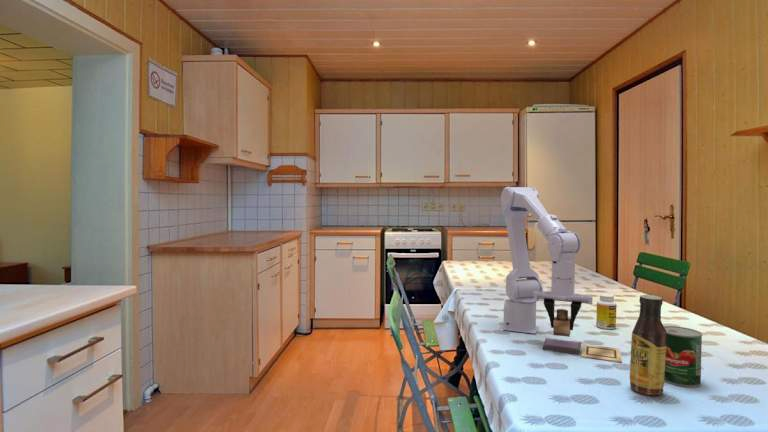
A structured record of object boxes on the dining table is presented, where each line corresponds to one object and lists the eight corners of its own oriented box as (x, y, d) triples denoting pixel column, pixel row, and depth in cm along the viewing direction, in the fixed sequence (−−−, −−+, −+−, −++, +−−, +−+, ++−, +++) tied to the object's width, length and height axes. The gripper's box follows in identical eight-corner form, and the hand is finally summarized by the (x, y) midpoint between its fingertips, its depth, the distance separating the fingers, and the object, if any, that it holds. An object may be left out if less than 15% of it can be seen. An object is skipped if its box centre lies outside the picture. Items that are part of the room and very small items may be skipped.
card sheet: (581, 357, 115) (581, 355, 115) (582, 345, 124) (582, 343, 124) (621, 362, 111) (621, 361, 111) (619, 349, 121) (619, 348, 121)
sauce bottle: (623, 385, 97) (624, 293, 96) (650, 384, 98) (652, 292, 97) (642, 398, 91) (645, 299, 90) (672, 397, 91) (674, 299, 90)
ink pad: (542, 349, 120) (542, 344, 120) (545, 342, 127) (545, 337, 127) (579, 354, 117) (579, 349, 117) (580, 346, 123) (580, 341, 123)
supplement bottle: (609, 330, 138) (610, 297, 138) (592, 326, 143) (593, 294, 143) (619, 328, 141) (620, 295, 141) (602, 324, 146) (603, 292, 146)
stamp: (553, 334, 121) (553, 311, 121) (554, 331, 125) (555, 307, 124) (569, 336, 119) (570, 312, 119) (570, 332, 123) (570, 309, 123)
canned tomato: (694, 375, 103) (695, 327, 102) (706, 389, 95) (707, 337, 95) (654, 371, 105) (655, 324, 105) (663, 384, 98) (664, 333, 97)
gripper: (532, 277, 121) (531, 328, 121) (592, 282, 114) (591, 335, 115) (536, 273, 127) (535, 322, 127) (593, 278, 121) (591, 328, 121)
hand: (561, 328), depth 122 cm, fingers closed on stamp, 4 cm apart
